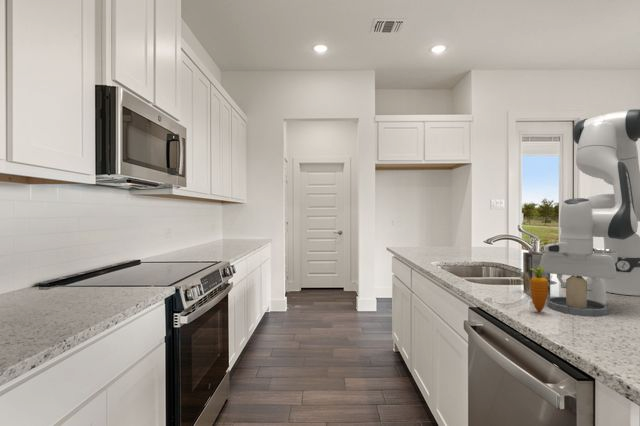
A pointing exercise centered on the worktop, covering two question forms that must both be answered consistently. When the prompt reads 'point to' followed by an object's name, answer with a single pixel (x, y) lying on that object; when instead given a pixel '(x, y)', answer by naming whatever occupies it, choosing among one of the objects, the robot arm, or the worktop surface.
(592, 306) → the dish
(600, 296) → the white plastic bottle
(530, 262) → the coffee box
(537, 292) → the carrot
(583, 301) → the candle
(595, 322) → the worktop surface
